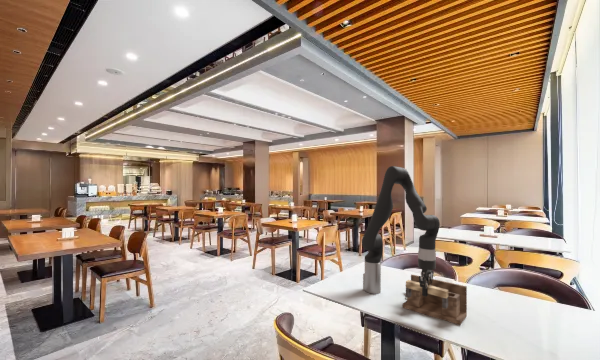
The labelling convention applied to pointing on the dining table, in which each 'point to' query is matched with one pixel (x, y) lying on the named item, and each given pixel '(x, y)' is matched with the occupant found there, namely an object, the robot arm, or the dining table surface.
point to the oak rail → (431, 290)
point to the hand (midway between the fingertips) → (426, 294)
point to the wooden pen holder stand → (440, 302)
